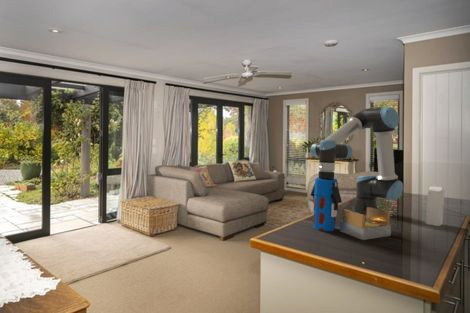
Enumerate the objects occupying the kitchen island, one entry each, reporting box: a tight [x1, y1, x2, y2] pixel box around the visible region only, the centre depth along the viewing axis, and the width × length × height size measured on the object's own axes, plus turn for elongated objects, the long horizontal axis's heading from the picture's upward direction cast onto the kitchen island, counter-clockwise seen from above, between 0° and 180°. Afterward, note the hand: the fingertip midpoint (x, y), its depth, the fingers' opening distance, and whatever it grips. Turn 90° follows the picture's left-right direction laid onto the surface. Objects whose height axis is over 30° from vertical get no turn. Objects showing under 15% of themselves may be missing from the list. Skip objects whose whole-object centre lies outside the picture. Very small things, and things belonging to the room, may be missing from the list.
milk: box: [425, 183, 445, 227], centre depth 171 cm, size 6×6×22 cm
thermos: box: [312, 177, 338, 232], centre depth 157 cm, size 11×11×25 cm
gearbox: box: [339, 207, 392, 241], centre depth 150 cm, size 14×18×11 cm
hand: (324, 213), depth 157 cm, fingers open, 12 cm apart
